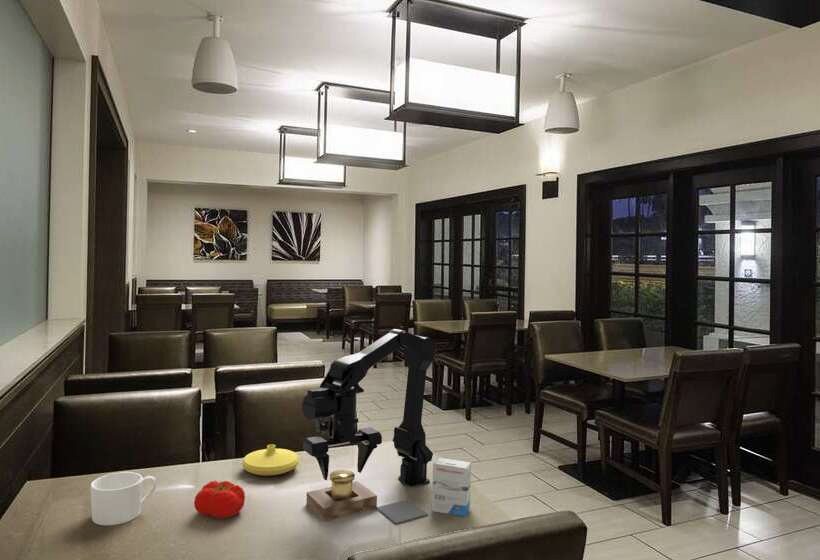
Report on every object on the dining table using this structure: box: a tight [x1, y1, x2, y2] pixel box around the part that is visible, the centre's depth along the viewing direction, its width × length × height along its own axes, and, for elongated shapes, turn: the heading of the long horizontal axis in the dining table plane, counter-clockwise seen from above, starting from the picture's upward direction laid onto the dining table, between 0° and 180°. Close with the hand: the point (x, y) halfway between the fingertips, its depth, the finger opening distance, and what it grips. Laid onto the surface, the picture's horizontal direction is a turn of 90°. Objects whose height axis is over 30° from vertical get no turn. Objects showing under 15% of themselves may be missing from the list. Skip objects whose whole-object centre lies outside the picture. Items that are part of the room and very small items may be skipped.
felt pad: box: [375, 498, 429, 525], centre depth 134 cm, size 9×9×1 cm
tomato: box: [193, 480, 246, 519], centre depth 131 cm, size 10×11×6 cm
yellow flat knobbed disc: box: [241, 444, 300, 477], centre depth 157 cm, size 16×16×7 cm
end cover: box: [329, 469, 356, 502], centre depth 136 cm, size 6×6×8 cm
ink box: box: [431, 457, 472, 518], centre depth 136 cm, size 8×5×12 cm, turn 71°
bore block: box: [306, 480, 378, 522], centre depth 136 cm, size 14×10×3 cm
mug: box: [90, 471, 157, 526], centre depth 128 cm, size 13×10×8 cm
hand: (342, 475), depth 136 cm, fingers open, 9 cm apart
